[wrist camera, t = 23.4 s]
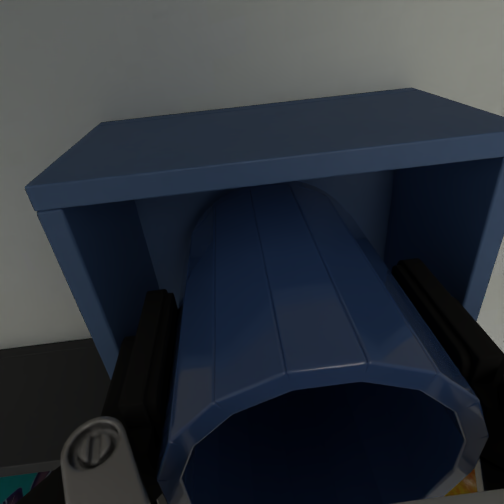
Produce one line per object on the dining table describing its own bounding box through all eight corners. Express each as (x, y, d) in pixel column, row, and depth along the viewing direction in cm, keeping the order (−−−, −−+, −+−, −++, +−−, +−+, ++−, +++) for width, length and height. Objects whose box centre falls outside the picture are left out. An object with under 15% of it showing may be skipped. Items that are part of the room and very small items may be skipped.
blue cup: (169, 190, 12) (115, 394, 6) (362, 168, 13) (535, 340, 6) (201, 331, 16) (192, 560, 9) (352, 313, 16) (450, 524, 9)
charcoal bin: (-103, 362, 18) (-232, 498, 13) (126, 333, 18) (90, 456, 13) (1, 479, 24) (-59, 605, 19) (172, 457, 24) (160, 574, 19)
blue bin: (100, 122, 13) (22, 186, 8) (412, 87, 13) (539, 127, 8) (167, 346, 19) (149, 467, 14) (382, 319, 19) (443, 429, 14)
